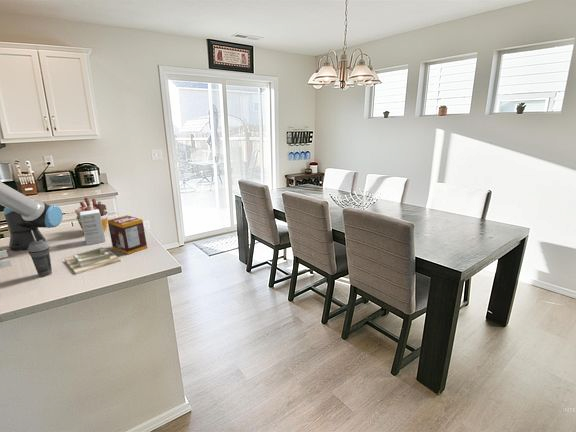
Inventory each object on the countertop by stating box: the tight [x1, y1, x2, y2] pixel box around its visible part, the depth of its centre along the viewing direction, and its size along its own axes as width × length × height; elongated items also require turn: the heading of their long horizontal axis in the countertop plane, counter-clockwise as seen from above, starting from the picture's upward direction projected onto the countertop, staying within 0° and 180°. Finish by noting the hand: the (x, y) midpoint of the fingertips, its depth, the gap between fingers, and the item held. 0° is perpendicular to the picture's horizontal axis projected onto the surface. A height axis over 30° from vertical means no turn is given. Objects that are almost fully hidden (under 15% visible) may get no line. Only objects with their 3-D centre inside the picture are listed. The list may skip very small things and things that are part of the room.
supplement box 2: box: [107, 215, 148, 255], centre depth 158 cm, size 10×15×16 cm
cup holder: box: [64, 247, 121, 275], centre depth 145 cm, size 20×18×4 cm
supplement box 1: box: [80, 209, 107, 246], centre depth 170 cm, size 10×9×17 cm
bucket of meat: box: [74, 197, 109, 233], centre depth 186 cm, size 20×16×20 cm
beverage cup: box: [27, 230, 53, 278], centre depth 131 cm, size 7×7×20 cm
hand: (8, 257), depth 124 cm, fingers open, 13 cm apart
